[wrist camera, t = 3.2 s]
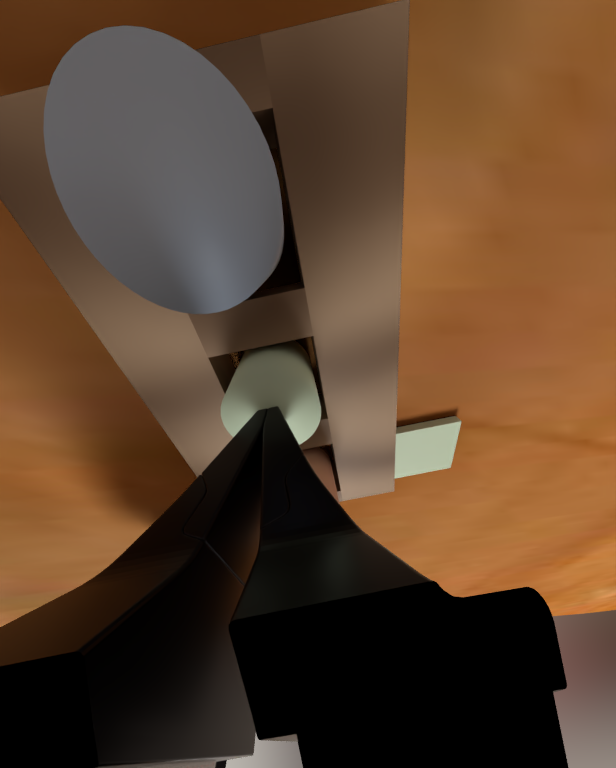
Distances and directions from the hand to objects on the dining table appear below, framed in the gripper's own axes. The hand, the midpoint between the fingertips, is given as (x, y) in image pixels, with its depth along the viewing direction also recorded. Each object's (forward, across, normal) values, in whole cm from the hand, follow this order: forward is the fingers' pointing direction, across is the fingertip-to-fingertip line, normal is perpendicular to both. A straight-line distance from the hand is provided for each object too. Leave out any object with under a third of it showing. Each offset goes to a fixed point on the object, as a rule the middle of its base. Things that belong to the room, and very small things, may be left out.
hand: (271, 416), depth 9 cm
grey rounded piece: (+3, 0, -7) cm, 7 cm away
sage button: (+4, 0, 0) cm, 4 cm away
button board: (+4, 0, 0) cm, 4 cm away
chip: (+4, -9, +9) cm, 13 cm away
